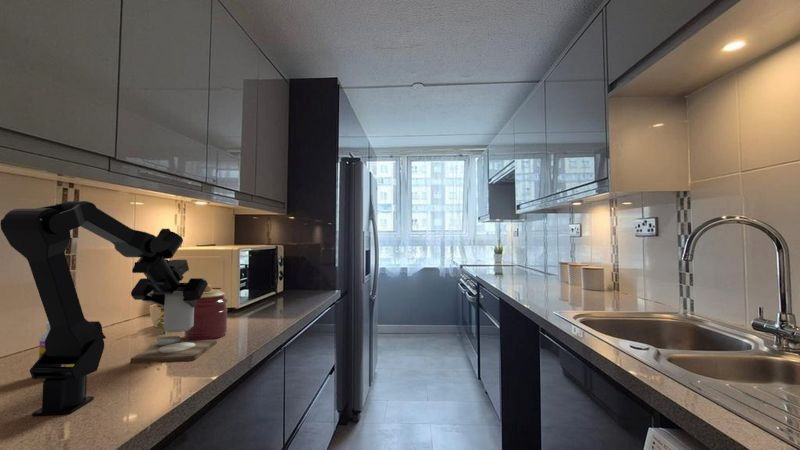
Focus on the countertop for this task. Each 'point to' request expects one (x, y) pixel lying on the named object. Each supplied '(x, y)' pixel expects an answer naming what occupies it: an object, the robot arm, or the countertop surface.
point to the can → (177, 313)
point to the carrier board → (174, 350)
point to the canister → (209, 316)
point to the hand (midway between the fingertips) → (182, 306)
